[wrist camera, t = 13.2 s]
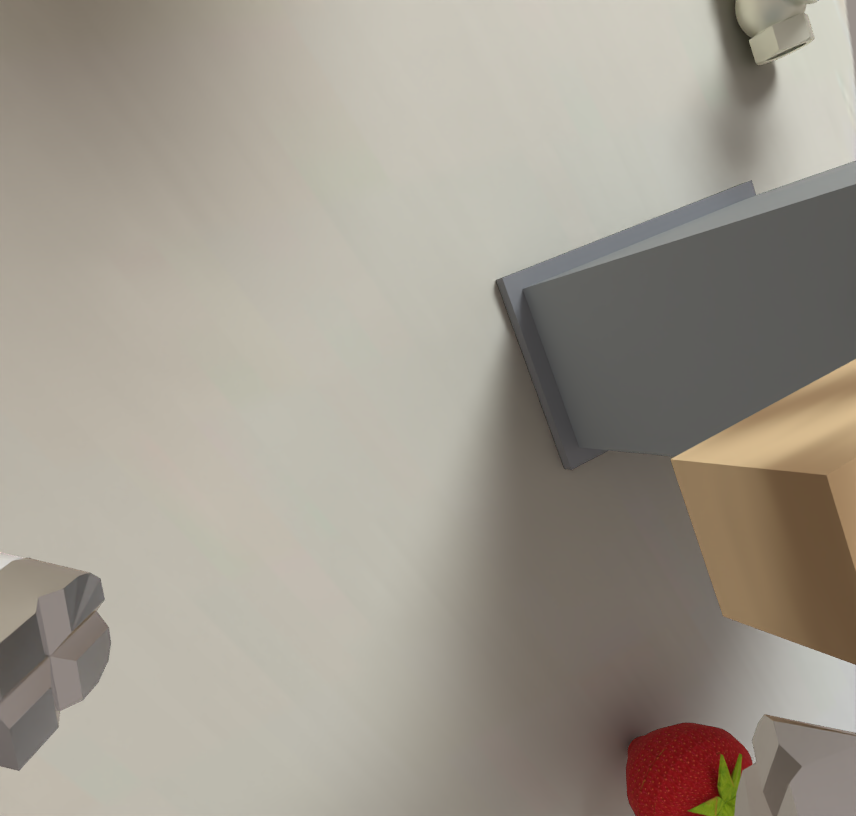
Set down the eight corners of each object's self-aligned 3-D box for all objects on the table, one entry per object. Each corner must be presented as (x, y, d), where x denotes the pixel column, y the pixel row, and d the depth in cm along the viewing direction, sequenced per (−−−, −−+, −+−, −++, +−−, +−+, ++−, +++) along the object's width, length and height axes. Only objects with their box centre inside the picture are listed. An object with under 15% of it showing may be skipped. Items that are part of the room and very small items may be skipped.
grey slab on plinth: (564, 468, 43) (1089, 547, 19) (496, 280, 42) (976, 105, 17) (793, 350, 50) (1397, 297, 26) (742, 183, 48) (1337, -40, 24)
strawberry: (569, 735, 44) (683, 825, 34) (662, 671, 46) (792, 739, 37) (601, 817, 44) (721, 926, 35) (691, 750, 47) (825, 835, 38)
